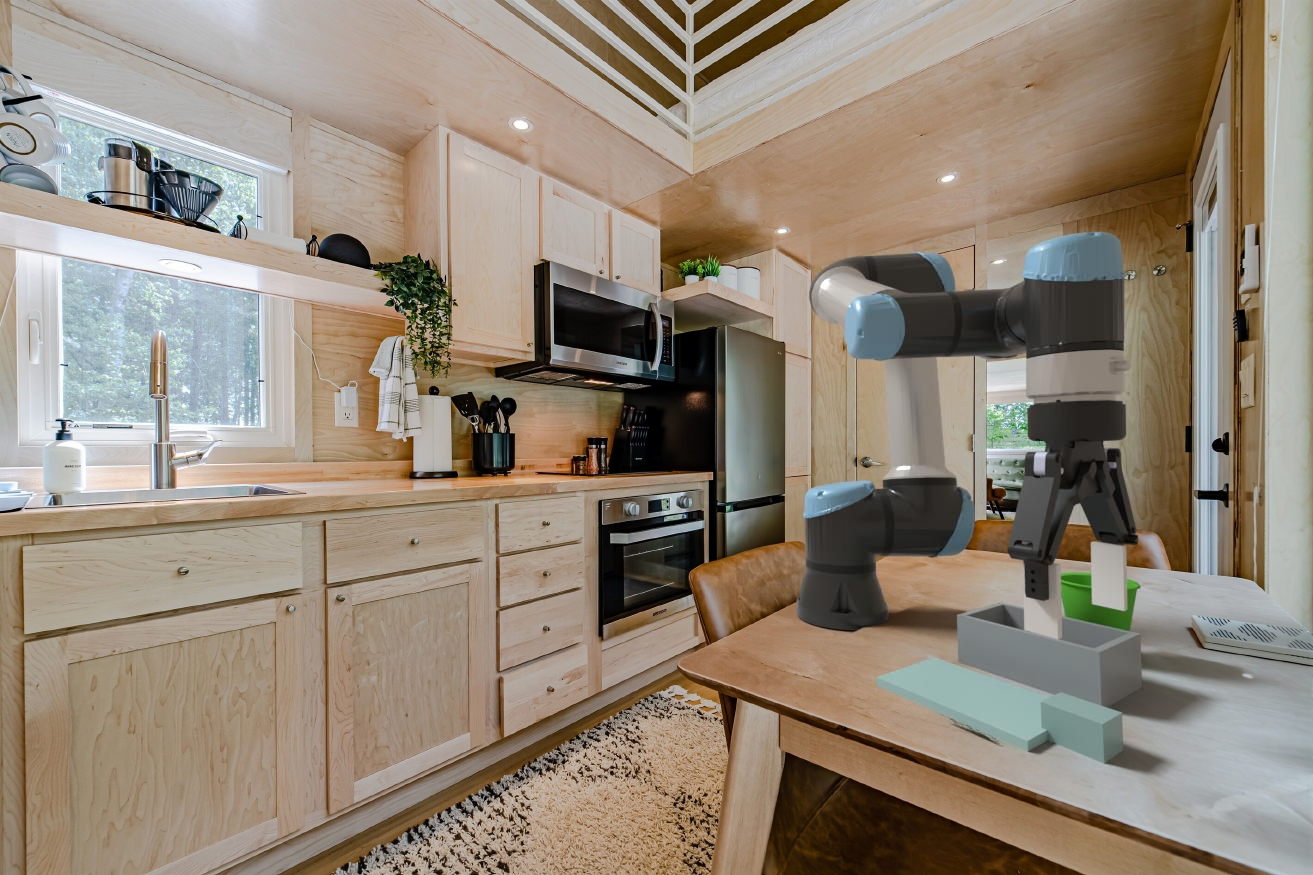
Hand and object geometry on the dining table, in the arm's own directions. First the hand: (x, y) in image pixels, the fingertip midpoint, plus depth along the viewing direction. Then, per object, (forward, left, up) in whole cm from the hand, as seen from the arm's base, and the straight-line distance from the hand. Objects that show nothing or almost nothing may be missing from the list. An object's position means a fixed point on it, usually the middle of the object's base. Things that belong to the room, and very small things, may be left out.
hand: (1078, 619), depth 52 cm
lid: (-8, 0, -13) cm, 15 cm away
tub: (-10, +14, -13) cm, 21 cm away
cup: (-9, +26, -13) cm, 31 cm away
